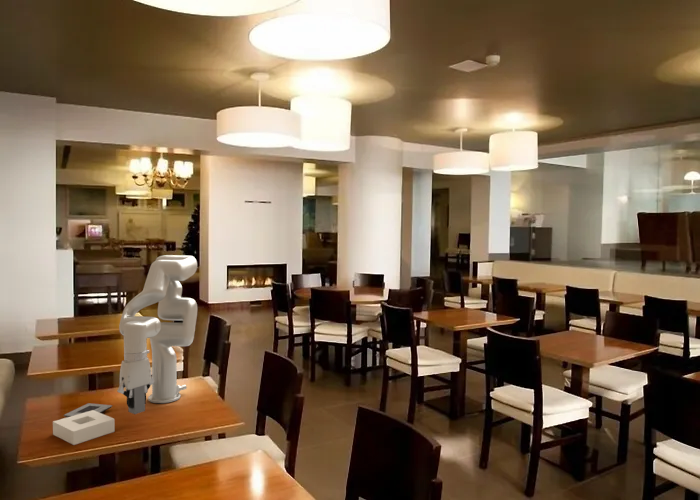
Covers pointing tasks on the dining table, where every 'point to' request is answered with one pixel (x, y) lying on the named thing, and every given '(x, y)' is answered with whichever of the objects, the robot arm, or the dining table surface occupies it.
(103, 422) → the socket
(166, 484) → the dining table surface
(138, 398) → the plug
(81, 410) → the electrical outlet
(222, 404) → the dining table surface
